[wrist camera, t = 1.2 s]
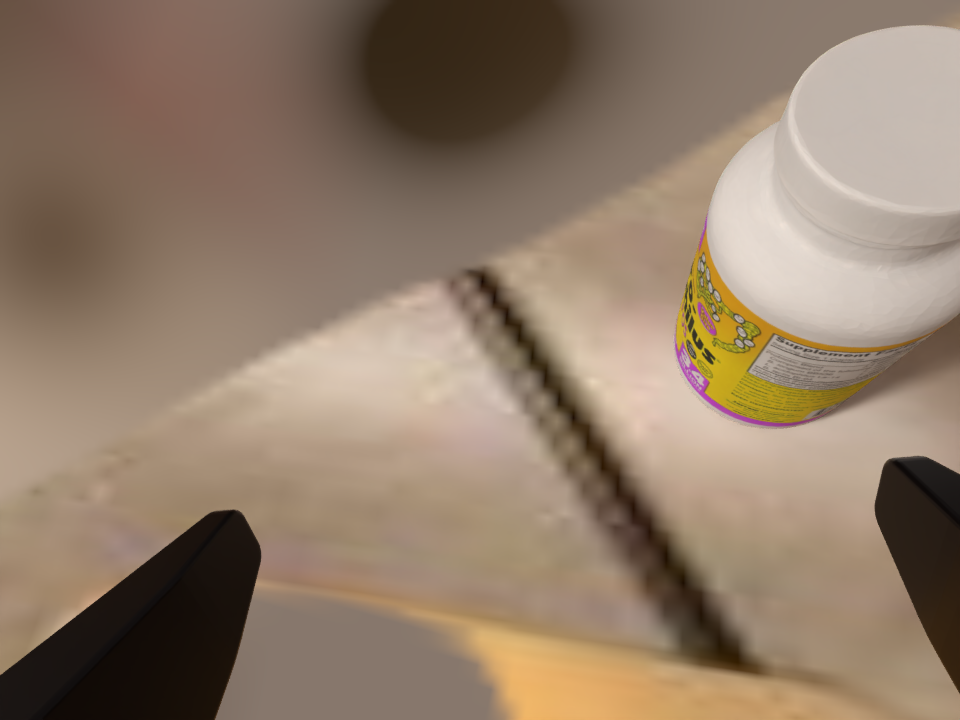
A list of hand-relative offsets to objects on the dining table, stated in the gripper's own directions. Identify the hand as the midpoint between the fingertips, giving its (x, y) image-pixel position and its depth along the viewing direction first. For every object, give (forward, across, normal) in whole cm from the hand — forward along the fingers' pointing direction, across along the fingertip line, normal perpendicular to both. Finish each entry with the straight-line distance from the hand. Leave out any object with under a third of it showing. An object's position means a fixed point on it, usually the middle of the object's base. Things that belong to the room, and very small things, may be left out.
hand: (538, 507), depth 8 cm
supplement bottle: (+15, -8, +8) cm, 18 cm away
